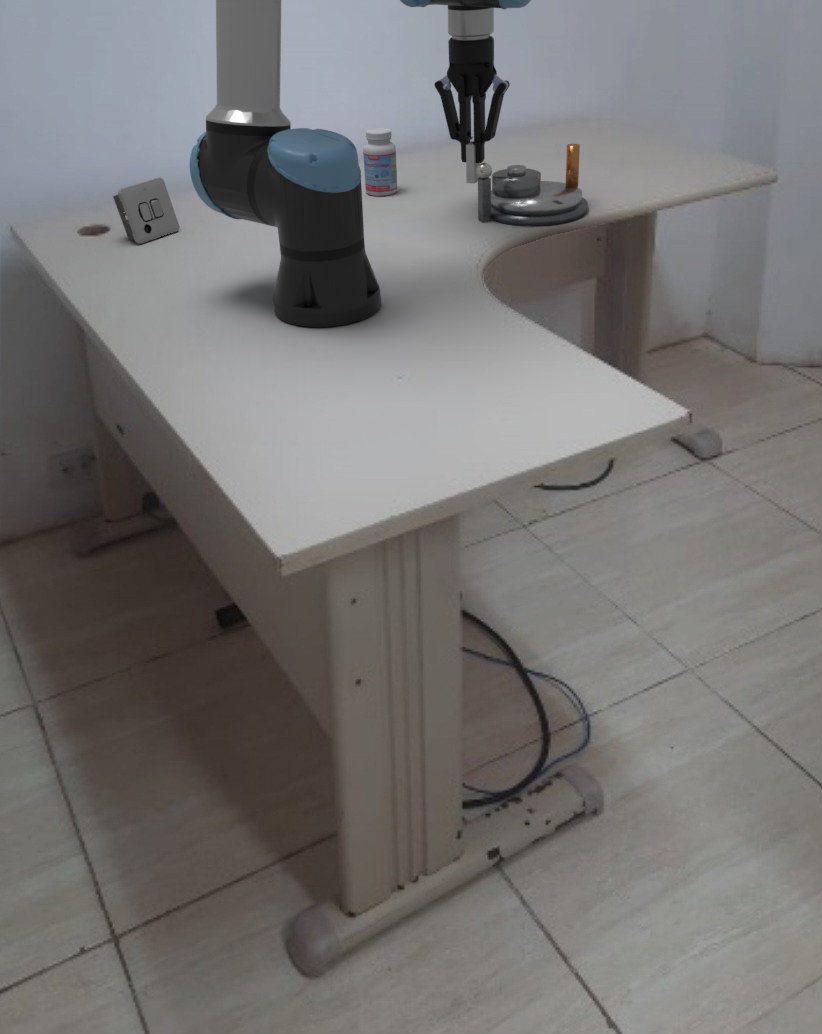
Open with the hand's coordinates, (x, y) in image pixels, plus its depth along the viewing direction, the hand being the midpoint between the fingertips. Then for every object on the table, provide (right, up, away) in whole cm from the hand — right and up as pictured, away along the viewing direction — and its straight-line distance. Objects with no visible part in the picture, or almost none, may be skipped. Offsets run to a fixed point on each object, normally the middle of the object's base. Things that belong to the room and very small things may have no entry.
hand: (473, 181), depth 187 cm
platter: (+11, -4, -2) cm, 12 cm away
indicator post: (+2, -9, -5) cm, 10 cm away
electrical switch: (-56, -11, -4) cm, 57 cm away
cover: (+7, -3, -2) cm, 8 cm away
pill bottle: (-16, +2, +13) cm, 21 cm away
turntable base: (+11, -6, -2) cm, 12 cm away
